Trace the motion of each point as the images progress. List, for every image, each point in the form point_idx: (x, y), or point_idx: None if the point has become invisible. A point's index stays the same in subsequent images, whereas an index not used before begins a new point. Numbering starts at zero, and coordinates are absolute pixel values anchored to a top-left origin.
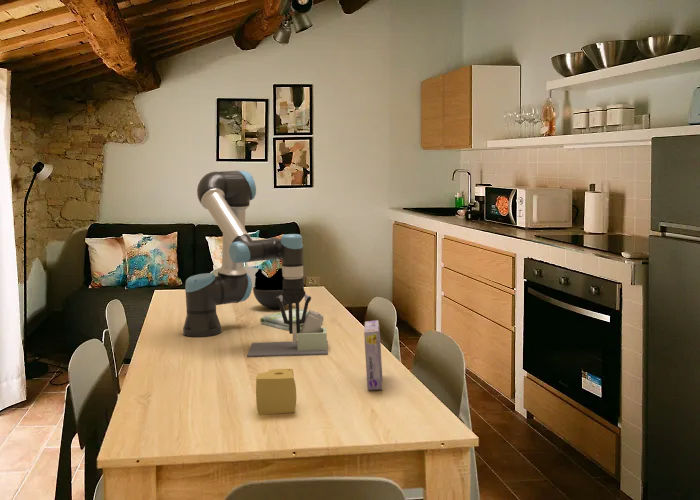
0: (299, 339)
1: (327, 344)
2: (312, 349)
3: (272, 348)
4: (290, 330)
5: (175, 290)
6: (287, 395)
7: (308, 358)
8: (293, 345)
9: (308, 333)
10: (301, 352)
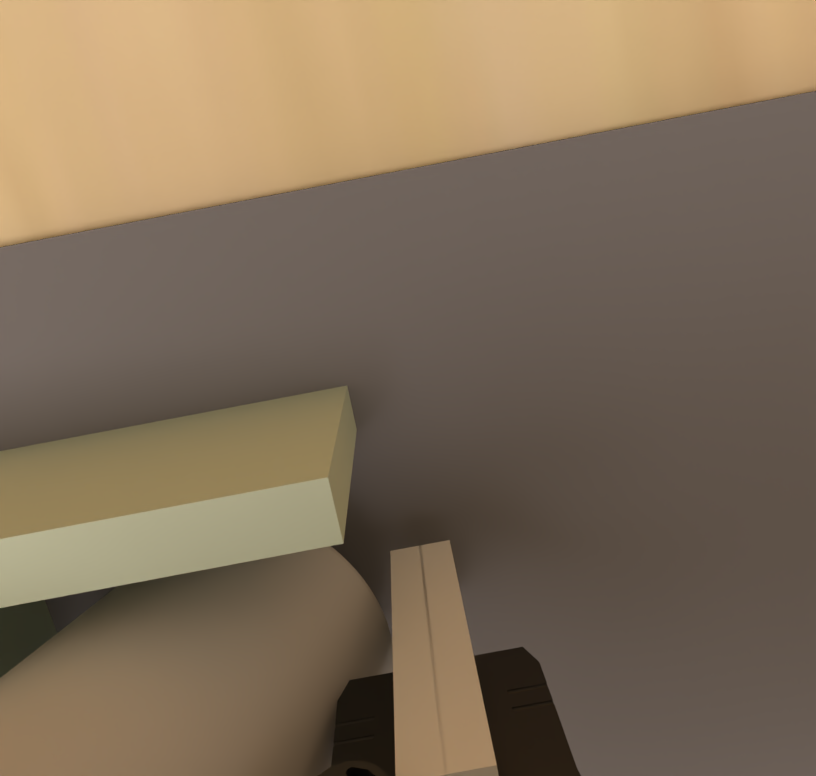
0: (296, 446)
1: None
2: (137, 428)
3: (718, 491)
4: (524, 696)
5: None
6: None
7: (90, 25)
8: None
9: (92, 548)
10: (264, 288)
